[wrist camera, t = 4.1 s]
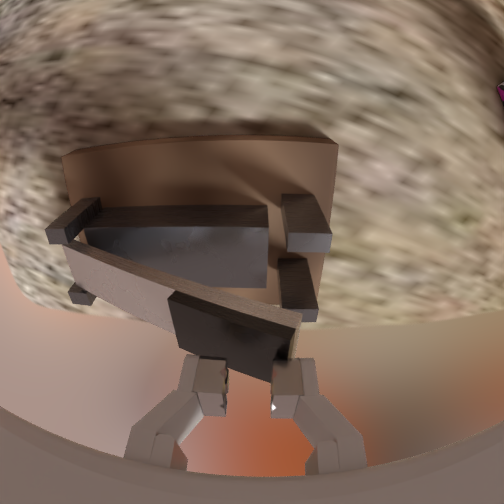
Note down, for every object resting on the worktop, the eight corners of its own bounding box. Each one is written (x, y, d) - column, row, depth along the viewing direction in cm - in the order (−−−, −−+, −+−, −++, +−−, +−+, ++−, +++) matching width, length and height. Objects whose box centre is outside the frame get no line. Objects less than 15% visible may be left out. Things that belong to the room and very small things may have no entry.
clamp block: (99, 264, 20) (70, 307, 16) (81, 198, 17) (41, 232, 13) (305, 270, 20) (316, 321, 16) (314, 194, 17) (332, 233, 13)
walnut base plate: (107, 281, 24) (98, 295, 22) (76, 149, 17) (61, 157, 16) (312, 288, 23) (315, 304, 22) (330, 138, 17) (338, 144, 15)
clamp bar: (84, 278, 17) (70, 289, 15) (71, 238, 15) (54, 249, 14) (293, 362, 12) (282, 387, 11) (302, 313, 10) (290, 340, 9)
